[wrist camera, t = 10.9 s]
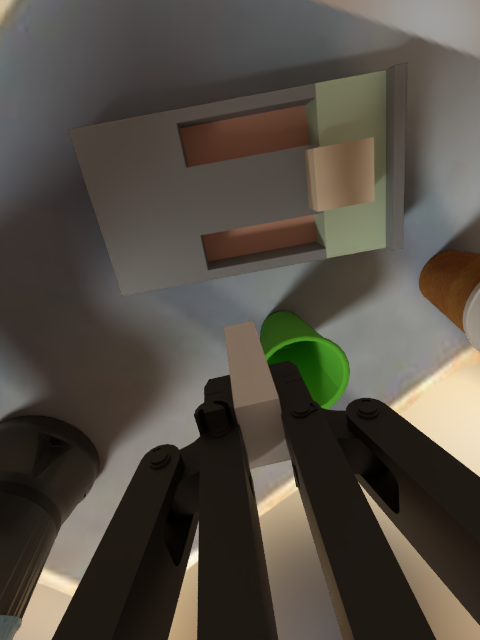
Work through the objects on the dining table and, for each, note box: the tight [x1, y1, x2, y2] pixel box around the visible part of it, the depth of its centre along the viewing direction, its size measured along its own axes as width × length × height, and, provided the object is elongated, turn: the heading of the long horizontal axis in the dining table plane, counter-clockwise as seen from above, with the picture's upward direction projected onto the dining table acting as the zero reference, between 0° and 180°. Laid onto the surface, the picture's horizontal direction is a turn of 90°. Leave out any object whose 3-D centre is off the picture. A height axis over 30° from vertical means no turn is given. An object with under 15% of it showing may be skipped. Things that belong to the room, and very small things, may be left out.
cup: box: [260, 311, 350, 409], centre depth 37 cm, size 9×9×11 cm
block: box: [304, 137, 375, 212], centre depth 30 cm, size 5×5×3 cm
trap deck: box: [68, 63, 407, 296], centre depth 33 cm, size 28×15×6 cm, turn 100°
